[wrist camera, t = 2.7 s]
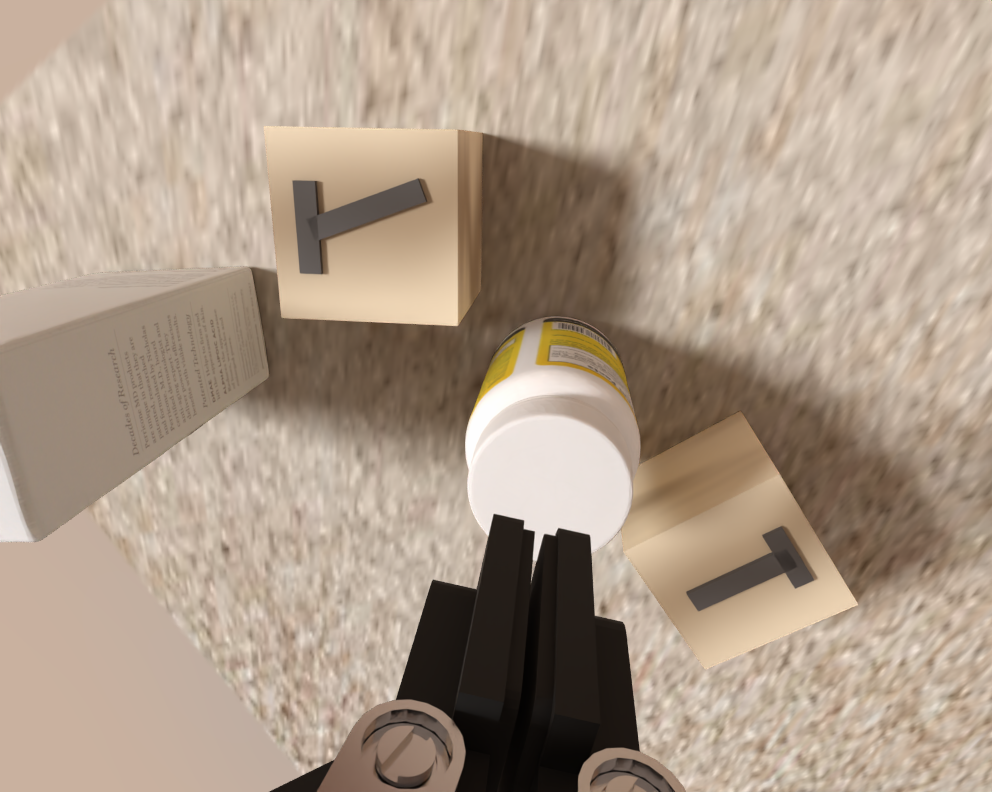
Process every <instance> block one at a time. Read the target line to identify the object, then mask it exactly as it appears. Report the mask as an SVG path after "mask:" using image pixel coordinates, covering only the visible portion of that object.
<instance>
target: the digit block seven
mask: <svg viewBox="0 0 992 792" xmlns="http://www.w3.org/2000/svg"><path fill="white" fill-rule="evenodd" d="M264 135H265V145H266V156H267V167H268V178H269V189H270V200H271V211H272V221H273V232H274V243H275V254H276V265H277V276H278V287H279V298H280V308H281V318H293V319H315V320H337V321H359V322H381V323H403V324H425V325H447V326H458V325H459V323H460V322H461V320H462V319H463V317H464V316H465V314H466V313H467V311H468V310H469V308H470V307H471V305H472V304H473V302H474V300H475V299H476V297H477V296H478V294H479V293H480V291H481V251H482V159H483V133H479V132H472V131H464V130H449V129H393V128H336V127H279V126H264Z"/></svg>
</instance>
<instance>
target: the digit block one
mask: <svg viewBox="0 0 992 792" xmlns="http://www.w3.org/2000/svg"><path fill="white" fill-rule="evenodd" d="M621 533H622V542H623V551H624V553H625V554H626V556H627V557H628V559H629V560H630V562H631V563H632V565H633V566H634V567H635V569H636V570H637V572H638V573H639V575H640V576H641V578H642V579H643V580H644V582H645V583H646V585H647V586H648V588H649V589H650V591H651V592H652V593H653V595H654V596H655V598H656V599H657V601H658V602H659V604H660V605H661V606H662V608H663V609H664V611H665V612H666V614H667V615H668V617H669V618H670V620H671V621H672V622H673V624H674V625H675V627H676V628H677V630H678V631H679V633H680V634H681V635H682V637H683V638H684V640H685V641H686V643H687V644H688V646H689V647H690V648H691V650H692V651H693V653H694V654H695V656H696V657H697V659H698V660H699V661H700V663H701V664H702V666H703V667H704V669H708V668H710V667H713V666H715V665H717V664H720V663H722V662H724V661H727V660H729V659H731V658H734V657H736V656H739V655H741V654H743V653H746V652H748V651H750V650H753V649H755V648H757V647H760V646H762V645H765V644H767V643H769V642H772V641H774V640H776V639H779V638H781V637H783V636H786V635H788V634H791V633H793V632H795V631H798V630H800V629H802V628H805V627H807V626H809V625H812V624H814V623H817V622H819V621H821V620H824V619H826V618H828V617H831V616H833V615H835V614H838V613H840V612H843V611H845V610H847V609H850V608H852V607H854V606H857V605H858V603H857V602H856V600H855V598H854V597H853V595H852V593H851V592H850V590H849V588H848V587H847V585H846V583H845V582H844V580H843V578H842V577H841V575H840V573H839V572H838V570H837V568H836V567H835V565H834V563H833V562H832V560H831V558H830V557H829V555H828V553H827V552H826V550H825V548H824V547H823V545H822V543H821V542H820V540H819V539H818V537H817V535H816V534H815V532H814V530H813V529H812V527H811V525H810V524H809V522H808V520H807V519H806V517H805V515H804V514H803V512H802V510H801V509H800V507H799V505H798V504H797V502H796V500H795V499H794V497H793V495H792V494H791V492H790V490H789V489H788V487H787V485H786V484H785V482H784V480H783V479H782V477H781V475H780V474H779V472H778V470H777V469H776V467H775V466H774V464H773V462H772V461H771V459H770V457H769V456H768V454H767V453H766V451H765V449H764V448H763V446H762V444H761V443H760V441H759V439H758V438H757V436H756V435H755V433H754V431H753V430H752V428H751V426H750V425H749V423H748V422H747V420H746V418H745V417H744V415H743V413H742V412H741V411H739V412H737V413H735V414H734V415H732V416H730V417H728V418H726V419H724V420H722V421H720V422H719V423H717V424H715V425H713V426H711V427H709V428H707V429H705V430H704V431H702V432H700V433H698V434H696V435H694V436H692V437H690V438H688V439H687V440H685V441H683V442H681V443H679V444H677V445H675V446H673V447H672V448H670V449H668V450H666V451H664V452H662V453H660V454H658V455H657V456H655V457H653V458H651V459H649V460H647V461H645V462H643V463H642V464H640V465H638V469H637V472H636V474H635V477H634V480H633V500H632V505H631V509H630V512H629V515H628V517H627V519H626V521H625V523H624V525H623V526H622V528H621Z"/></svg>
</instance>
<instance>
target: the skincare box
mask: <svg viewBox="0 0 992 792" xmlns="http://www.w3.org/2000/svg"><path fill="white" fill-rule="evenodd" d="M268 378H269V368H268V362H267V356H266V348H265V342H264V336H263V330H262V325H261V319H260V312H259V307H258V301H257V297H256V291H255V286H254V281H253V276H252V271H251V269H250V268H249V267H245V266H240V267H219V268H194V269H171V270H148V271H125V272H101V273H93V274H88V275H84V276H80V277H75V278H71V279H66V280H62V281H58V282H53V283H49V284H45V285H41V286H37V287H33V288H29V289H24V290H20V291H16V292H12V293H7V294H3V295H0V542H38V541H41V540H42V539H44V538H45V537H47V536H48V535H50V534H51V533H52V532H54V531H55V530H57V529H58V528H59V527H60V526H62V525H63V524H64V523H66V522H68V521H69V520H70V519H72V518H73V517H75V516H76V515H77V514H79V513H80V512H81V511H83V510H84V509H85V508H87V507H88V506H90V505H91V504H92V503H94V502H95V501H97V500H98V499H99V498H101V497H102V496H104V495H105V494H107V493H108V492H110V491H111V490H113V489H114V488H115V487H117V486H118V485H120V484H121V483H122V482H124V481H125V480H127V479H128V478H130V477H131V476H132V475H134V474H135V473H137V472H138V471H139V470H141V469H142V468H144V467H145V466H147V465H148V464H149V463H151V462H152V461H154V460H155V459H156V458H158V457H159V456H161V455H162V454H163V453H165V452H166V451H167V450H169V449H170V448H171V447H173V446H174V445H175V444H177V443H178V442H180V441H181V440H183V439H184V438H185V437H187V436H189V435H190V434H192V433H193V432H194V431H196V430H197V429H198V428H199V427H201V426H202V425H203V424H205V423H206V422H208V421H209V420H211V419H212V418H213V417H215V416H216V415H217V414H219V413H220V412H222V411H223V410H224V409H226V408H227V407H229V406H230V405H231V404H233V403H234V402H236V401H237V400H239V399H240V398H241V397H243V396H244V395H245V394H247V393H248V392H249V391H251V390H252V389H254V388H255V387H256V386H258V385H259V384H261V383H262V382H263V381H265V380H266V379H268Z"/></svg>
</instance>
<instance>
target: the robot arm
mask: <svg viewBox="0 0 992 792" xmlns="http://www.w3.org/2000/svg"><path fill="white" fill-rule="evenodd" d="M534 539H535V531H531V530H526V529H524V520H521V519H516V518H512V517H507V516H502V515H498V514H493V518H492V523H491V527H490V532H489V536H488V541H487V545H486V550H485V554H484V559H483V563H482V568H481V572H480V577H479V581H478V586H477V589H472V588H468V587H463V586H459V585H454V584H450V583H445V582H441V581H436V580H433V581H432V583H431V586H430V589H429V592H428V596H427V599H426V602H425V606H424V609H423V612H422V615H421V619H420V622H419V625H418V629H417V632H416V635H415V639H414V642H413V645H412V649H411V652H410V655H409V658H408V662H407V665H406V668H405V672H404V675H403V678H402V682H401V685H400V688H399V691H398V695H397V698H396V700H392V701H389V702H386V703H383V704H379V705H377V706H375V707H374V708H372V709H371V710H369V711H367V712H366V713H364V714H363V715H362V717H361V718H360V719H359V720H358V722H357V723H356V724H355V725H354V726H353V728H352V730H351V732H350V733H349V735H348V737H347V739H346V741H345V742H344V744H343V746H342V748H341V749H340V751H339V753H338V755H337V757H336V758H335V760H333V761H331V762H329V763H327V764H325V765H323V766H321V767H319V768H317V769H315V770H313V771H311V772H309V773H306V774H304V775H302V776H300V777H299V778H297V779H294V780H292V781H290V782H288V783H286V784H284V785H282V786H280V787H278V788H276V789H274V790H272V791H270V792H686V791H685V789H684V787H683V786H682V784H681V783H680V782H679V781H678V779H677V778H676V777H675V776H674V775H673V773H672V772H671V771H670V770H668V769H667V768H666V767H665V766H663V765H662V764H661V763H660V762H658V761H657V760H655V759H653V758H651V757H649V756H647V755H645V754H643V753H641V752H640V750H639V741H638V732H637V724H636V715H635V706H634V697H633V688H632V679H631V671H630V662H629V653H628V644H627V635H626V629H625V625H624V623H623V622H620V621H616V620H611V619H607V618H602V617H598V616H595V613H594V594H593V575H592V556H591V538H590V535H589V534H584V533H579V532H575V531H570V530H566V529H561V528H558V529H557V532H556V534H555V536H554V535H549V534H544V536H543V539H542V543H541V546H540V550H539V554H538V558H537V562H536V566H535V570H534V574H533V577H532V581H531V574H532V562H533V551H534Z"/></svg>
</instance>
